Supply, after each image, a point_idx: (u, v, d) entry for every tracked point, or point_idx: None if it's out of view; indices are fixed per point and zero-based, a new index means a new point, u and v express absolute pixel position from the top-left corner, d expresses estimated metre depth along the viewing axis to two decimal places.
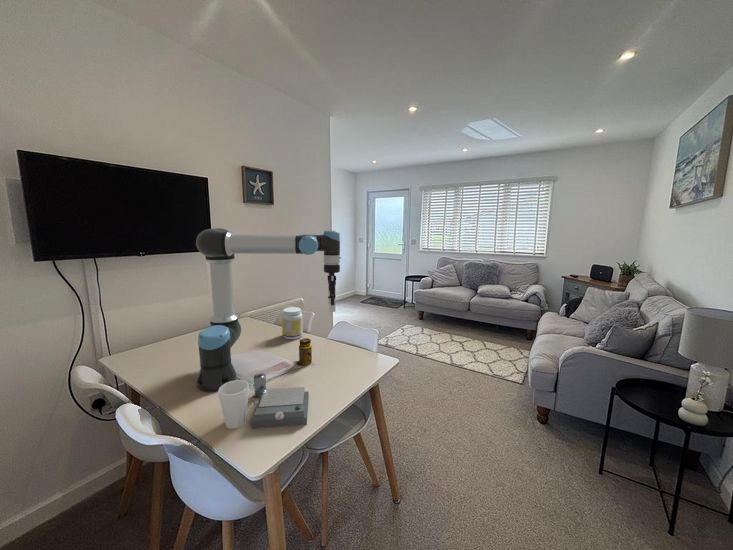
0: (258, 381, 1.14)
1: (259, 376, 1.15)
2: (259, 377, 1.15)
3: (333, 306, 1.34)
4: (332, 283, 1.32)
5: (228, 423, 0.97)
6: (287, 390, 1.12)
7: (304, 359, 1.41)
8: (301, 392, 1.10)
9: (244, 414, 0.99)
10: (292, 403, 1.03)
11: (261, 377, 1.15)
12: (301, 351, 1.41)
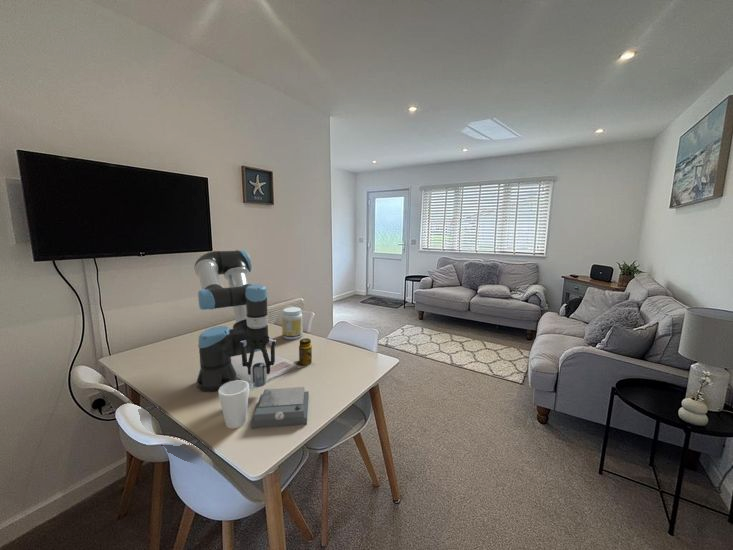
0: (257, 370, 1.13)
1: (258, 365, 1.15)
2: (258, 366, 1.14)
3: None
4: None
5: (228, 423, 0.97)
6: (287, 390, 1.12)
7: (304, 359, 1.41)
8: (301, 392, 1.10)
9: (244, 414, 0.99)
10: (292, 403, 1.03)
11: (260, 366, 1.14)
12: (301, 351, 1.41)
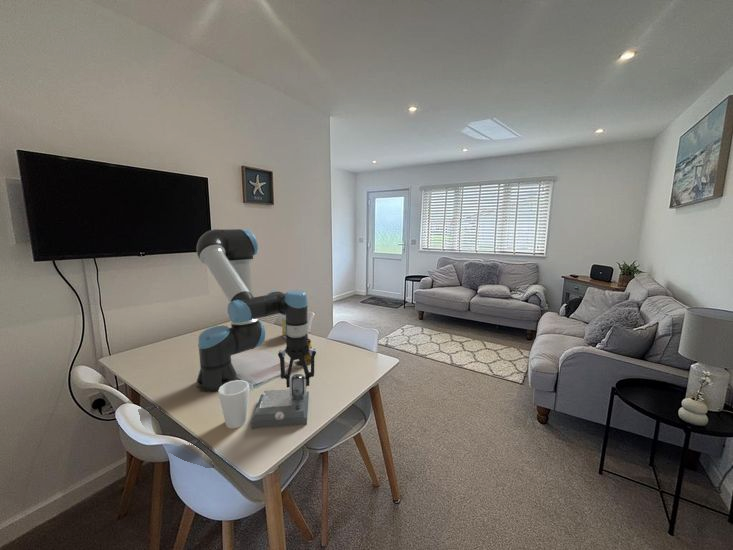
0: (297, 382, 1.05)
1: (297, 377, 1.07)
2: (297, 378, 1.07)
3: None
4: None
5: (228, 423, 0.97)
6: (287, 391, 1.12)
7: None
8: None
9: (244, 414, 0.99)
10: None
11: (300, 378, 1.06)
12: None
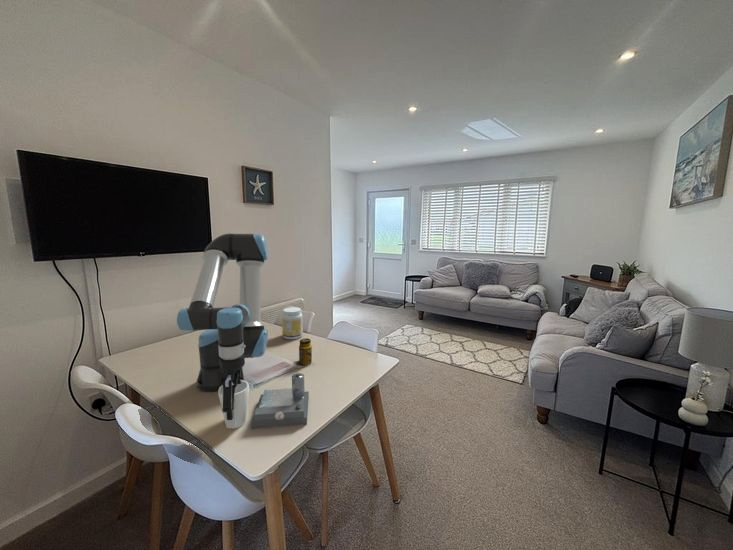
0: (297, 381, 1.05)
1: (297, 376, 1.07)
2: (297, 377, 1.06)
3: (232, 420, 0.94)
4: (227, 391, 0.91)
5: None
6: (287, 391, 1.12)
7: (304, 359, 1.41)
8: None
9: (244, 414, 0.99)
10: (292, 404, 1.03)
11: (300, 377, 1.06)
12: (301, 351, 1.41)
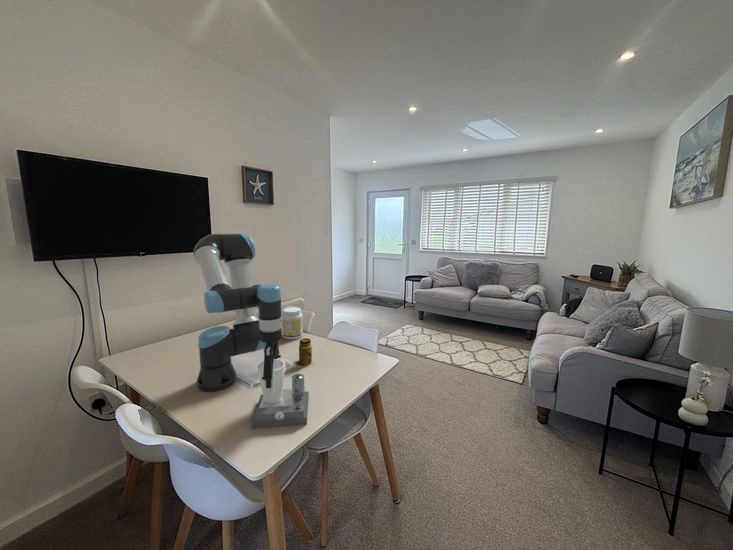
0: (297, 382, 1.05)
1: (297, 376, 1.07)
2: (297, 377, 1.07)
3: (270, 388, 0.99)
4: (267, 359, 0.97)
5: (267, 398, 1.04)
6: (287, 391, 1.12)
7: (304, 359, 1.41)
8: None
9: (281, 390, 1.06)
10: None
11: (300, 378, 1.06)
12: (301, 351, 1.41)
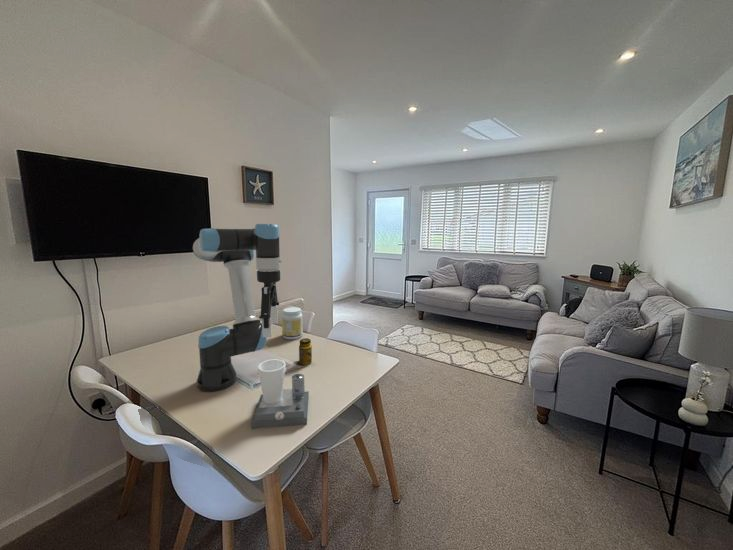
0: (297, 382, 1.05)
1: (297, 376, 1.07)
2: (297, 377, 1.07)
3: (268, 329, 0.96)
4: (265, 297, 0.93)
5: (267, 398, 1.04)
6: (287, 391, 1.12)
7: (304, 359, 1.41)
8: None
9: (281, 390, 1.06)
10: None
11: (300, 378, 1.06)
12: (301, 351, 1.41)
